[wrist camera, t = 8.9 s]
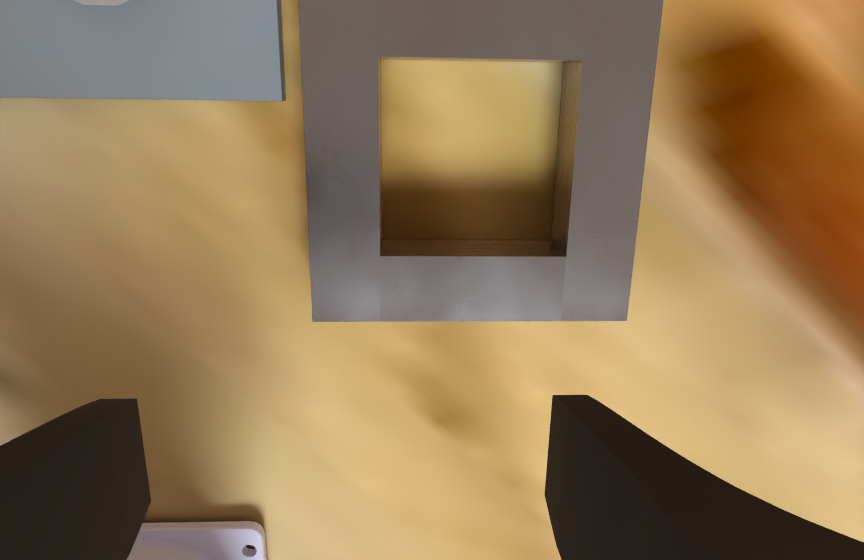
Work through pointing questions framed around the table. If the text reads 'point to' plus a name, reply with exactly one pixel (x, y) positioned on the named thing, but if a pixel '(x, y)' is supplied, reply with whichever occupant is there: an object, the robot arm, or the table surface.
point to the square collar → (575, 169)
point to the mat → (142, 50)
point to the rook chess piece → (101, 2)
